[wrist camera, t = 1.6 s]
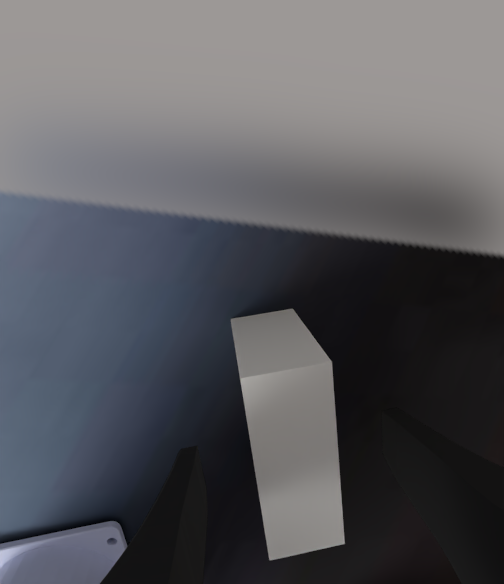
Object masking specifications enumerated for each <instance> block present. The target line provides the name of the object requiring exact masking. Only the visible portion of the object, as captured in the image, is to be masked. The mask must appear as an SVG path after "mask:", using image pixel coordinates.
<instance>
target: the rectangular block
mask: <svg viewBox="0 0 504 584" xmlns="http://www.w3.org/2000/svg"><path fill="white" fill-rule="evenodd" d="M231 325H232V331H233V338H234V344H235V350H236V356H237V363H238V369H239V375H240V381H241V387H242V394H243V400H244V406H245V412H246V419H247V425H248V431H249V437H250V444H251V450H252V456H253V462H254V468H255V474H256V481H257V487H258V493H259V499H260V505H261V511H262V517H263V524H264V530H265V536H266V542H267V548H268V554H269V560H275V559H279V558H284V557H288V556H293V555H297V554H301V553H306V552H310V551H315V550H319V549H324V548H328V547H333V546H337V545H342V544H345V542H344V527H343V513H342V499H341V484H340V470H339V456H338V442H337V427H336V413H335V399H334V385H333V370H332V361H331V360H330V359H329V357H328V356H327V355H326V353H325V352H324V351H323V349H322V348H321V346H320V345H319V344H318V342H317V341H316V340H315V338H314V337H313V336H312V334H311V333H310V331H309V330H308V329H307V327H306V326H305V325H304V323H303V322H302V321H301V319H300V318H299V316H298V315H297V314H296V312H295V311H294V310H293V309H287V310H281V311H275V312H269V313H263V314H257V315H251V316H245V317H239V318H233V319H231Z"/></svg>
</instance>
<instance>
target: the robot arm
mask: <svg viewBox="0 0 504 584" xmlns="http://www.w3.org/2000/svg"><path fill="white" fill-rule="evenodd" d="M382 446H383V455H384V457H385V459H386V461H387V463H388V465H389V467H390V469H391V471H392V473H393V475H394V476H395V478H396V480H397V482H398V483H399V485H400V486H401V488H402V489H403V491H404V492H405V494H406V495H407V497H408V498H409V500H410V501H411V503H412V504H413V506H414V507H415V509H416V510H417V512H418V513H419V515H420V516H421V518H422V519H423V520H424V522H425V523H426V525H427V526H428V528H429V529H430V531H431V532H432V534H433V535H434V537H435V538H436V540H437V542H438V543H439V545H440V546H441V548H442V550H443V551H444V553H445V555H446V556H447V558H448V560H449V562H450V564H451V565H452V567H453V569H454V571H455V572H456V574H457V576H458V578H459V580H460V581H461V583H462V584H504V468H503V467H501V466H499V465H497V464H495V463H492V462H490V461H488V460H486V459H484V458H482V457H480V456H478V455H476V454H475V453H473V452H471V451H469V450H467V449H465V448H463V447H461V446H460V445H458V444H456V443H454V442H453V441H451V440H449V439H447V438H446V437H444V436H442V435H441V434H439V433H437V432H436V431H434V430H432V429H431V428H429V427H427V426H426V425H424V424H423V423H421V422H419V421H418V420H416V419H415V418H413V417H411V416H410V415H408V414H406V413H405V412H403V411H402V410H400V409H398V408H393V409H387V410H382ZM207 519H208V517H207V488H206V484H205V479H204V474H203V470H202V465H201V461H200V456H199V451H198V447H197V446H194V447H189V448H184V449H181V450H180V451H179V452H178V455H177V457H176V460H175V462H174V464H173V467H172V469H171V471H170V473H169V475H168V477H167V479H166V481H165V483H164V485H163V487H162V489H161V491H160V493H159V495H158V497H157V499H156V501H155V503H154V504H153V506H152V508H151V509H150V511H149V513H148V515H147V516H146V518H145V520H144V522H143V523H142V525H141V526H140V528H139V530H138V531H137V533H136V534H135V536H134V537H133V539H132V540H131V542H130V543H129V545H128V546H127V543H126V540H125V537H124V534H123V531H122V528H121V526H120V524H119V523H118V522H115V521H108V522H103V523H98V524H93V525H89V526H84V527H79V528H74V529H69V530H65V531H60V532H55V533H50V534H45V535H41V536H36V537H31V538H26V539H21V540H17V541H12V542H7V543H2V544H0V584H203V576H204V562H205V548H206V534H207Z"/></svg>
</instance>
